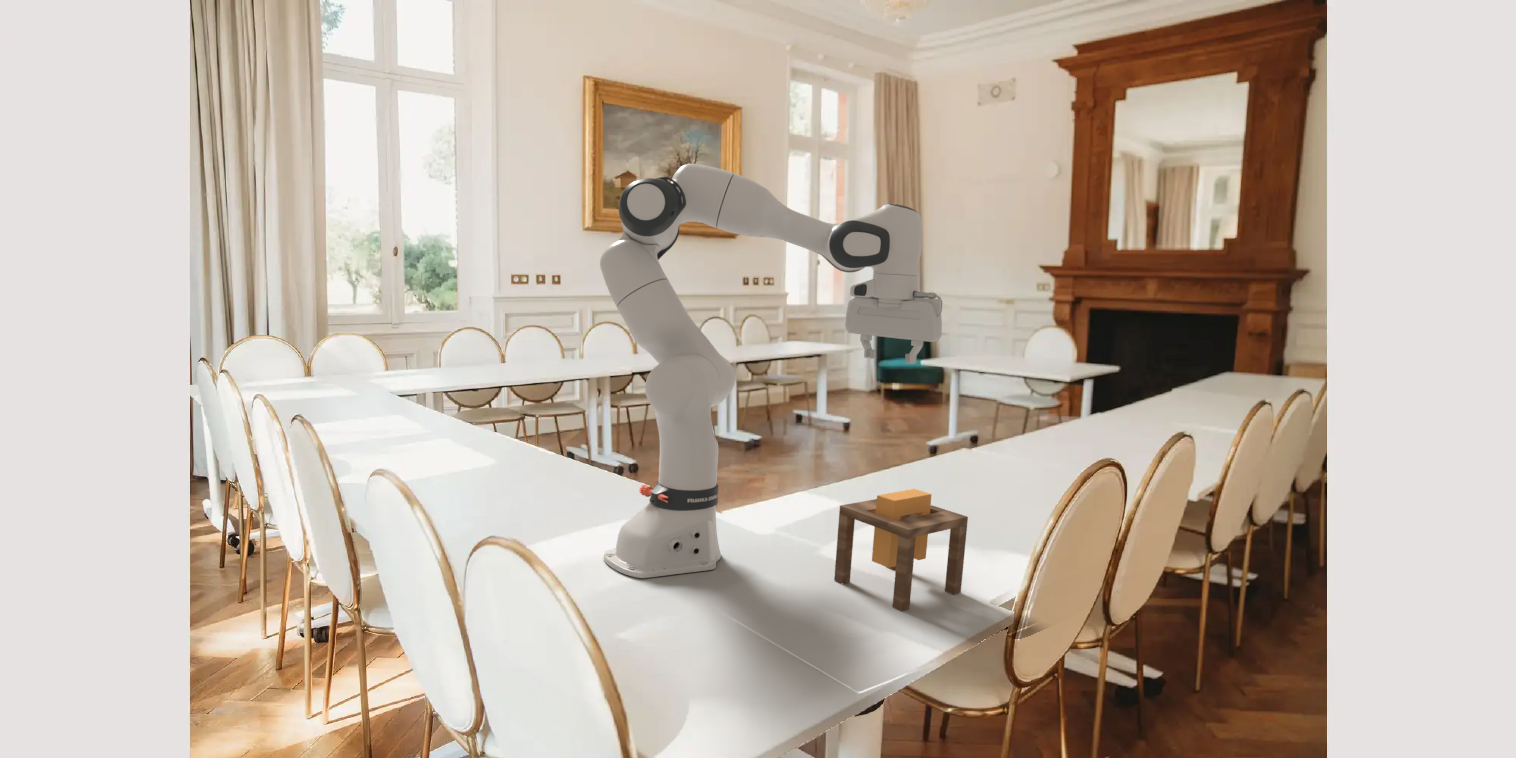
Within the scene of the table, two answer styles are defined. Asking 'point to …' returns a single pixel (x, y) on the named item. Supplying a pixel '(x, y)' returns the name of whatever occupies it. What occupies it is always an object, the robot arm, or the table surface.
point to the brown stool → (903, 544)
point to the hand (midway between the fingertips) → (889, 360)
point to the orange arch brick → (894, 509)
